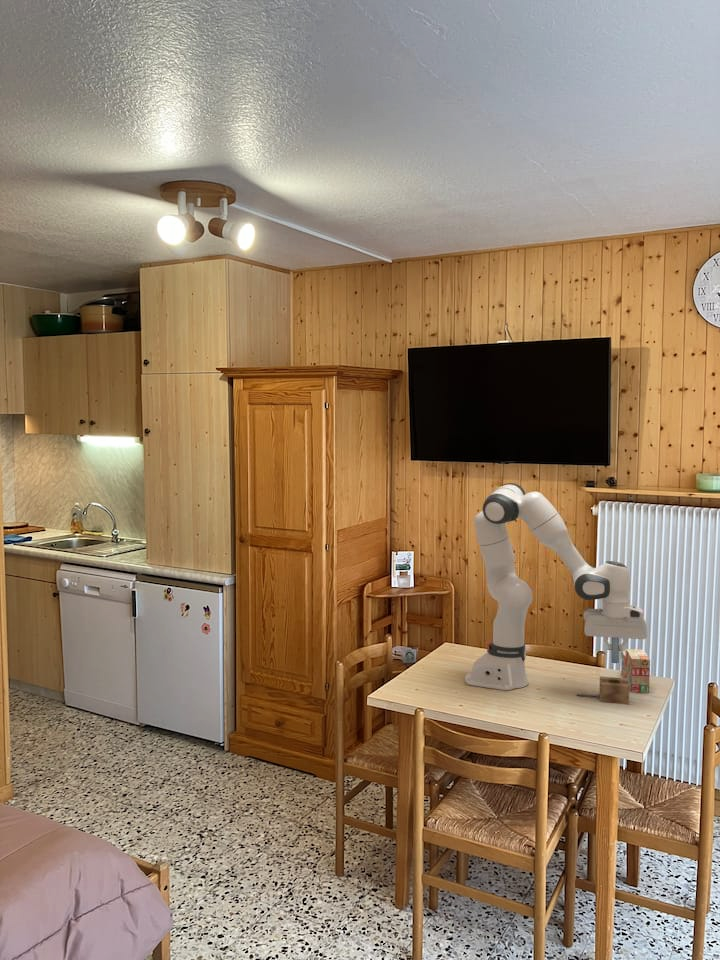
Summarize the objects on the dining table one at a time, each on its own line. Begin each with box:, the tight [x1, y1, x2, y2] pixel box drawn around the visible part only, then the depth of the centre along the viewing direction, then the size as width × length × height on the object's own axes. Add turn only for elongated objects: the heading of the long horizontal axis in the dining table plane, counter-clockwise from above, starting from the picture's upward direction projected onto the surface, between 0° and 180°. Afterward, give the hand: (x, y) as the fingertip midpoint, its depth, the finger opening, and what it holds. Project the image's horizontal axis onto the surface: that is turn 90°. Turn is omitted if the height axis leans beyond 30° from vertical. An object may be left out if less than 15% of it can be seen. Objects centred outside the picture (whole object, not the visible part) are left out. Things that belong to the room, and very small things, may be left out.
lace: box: [576, 693, 599, 699], centre depth 267 cm, size 7×1×1 cm, turn 75°
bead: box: [599, 675, 630, 705], centre depth 264 cm, size 9×9×6 cm
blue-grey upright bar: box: [610, 637, 620, 664], centre depth 263 cm, size 2×2×11 cm
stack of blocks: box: [620, 648, 651, 694], centre depth 281 cm, size 21×6×12 cm, turn 171°
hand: (615, 650), depth 263 cm, fingers closed on blue-grey upright bar, 2 cm apart
